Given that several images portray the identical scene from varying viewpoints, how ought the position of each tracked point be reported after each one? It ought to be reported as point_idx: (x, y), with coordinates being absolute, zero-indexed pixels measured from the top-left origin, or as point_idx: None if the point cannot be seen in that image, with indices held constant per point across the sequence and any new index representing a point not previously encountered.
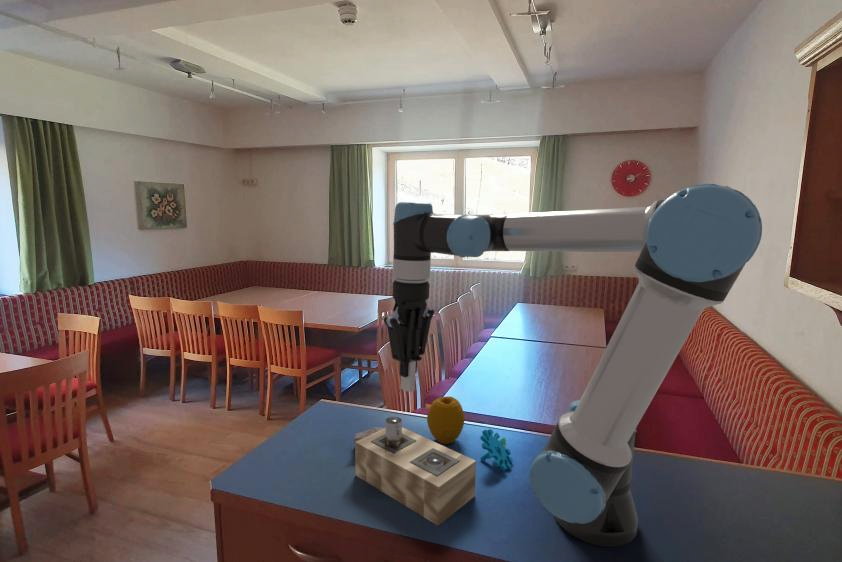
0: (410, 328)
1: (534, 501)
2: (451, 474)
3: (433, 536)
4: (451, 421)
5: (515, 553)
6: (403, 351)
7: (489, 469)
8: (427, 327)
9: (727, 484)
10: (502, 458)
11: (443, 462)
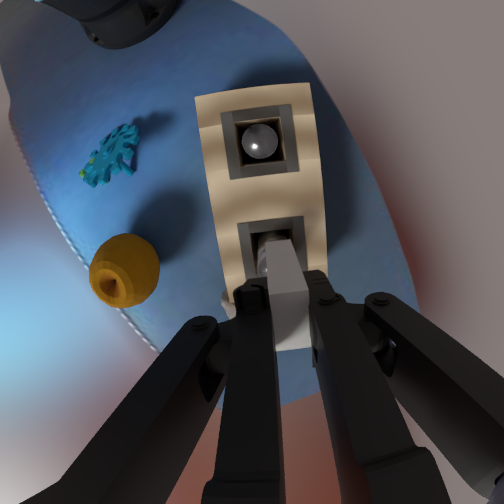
0: (421, 470)
1: (152, 58)
2: (264, 92)
3: (316, 88)
4: (128, 245)
5: (254, 13)
6: (395, 327)
7: (139, 147)
8: (110, 450)
9: (14, 24)
10: (116, 137)
11: (249, 127)
